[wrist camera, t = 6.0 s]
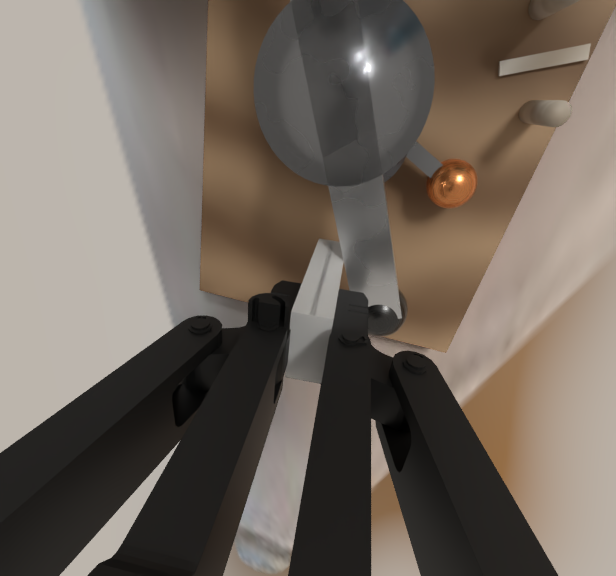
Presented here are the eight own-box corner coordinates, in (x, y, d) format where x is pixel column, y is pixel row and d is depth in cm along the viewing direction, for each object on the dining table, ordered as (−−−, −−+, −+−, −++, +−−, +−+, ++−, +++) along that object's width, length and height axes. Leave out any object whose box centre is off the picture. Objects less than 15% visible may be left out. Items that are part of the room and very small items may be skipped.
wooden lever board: (230, -130, 16) (176, -214, 12) (627, -64, 15) (727, -129, 11) (211, 278, 27) (179, 311, 23) (441, 335, 26) (453, 383, 22)
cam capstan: (234, -167, 14) (119, -380, 8) (457, -282, 12) (543, -705, 6) (335, 284, 23) (318, 353, 17) (474, 265, 21) (515, 338, 14)
